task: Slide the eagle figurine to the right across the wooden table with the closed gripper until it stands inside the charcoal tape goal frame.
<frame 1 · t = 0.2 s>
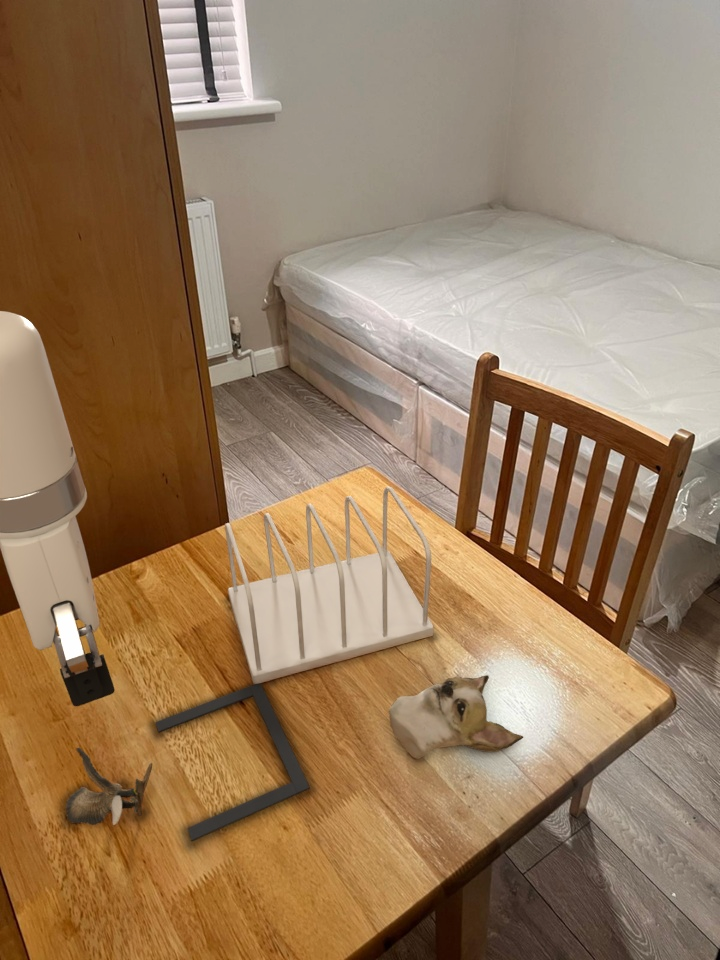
hand: (84, 655, 61), 28 cm above the table, tool pointing down, fingers open, 9 cm apart
file sorter: (327, 617, 103), on the table, touching goal frame
ceramic sculpture: (447, 734, 87), on the table
eagle figurine: (110, 805, 81), on the table
goal frame: (223, 757, 85), on the table
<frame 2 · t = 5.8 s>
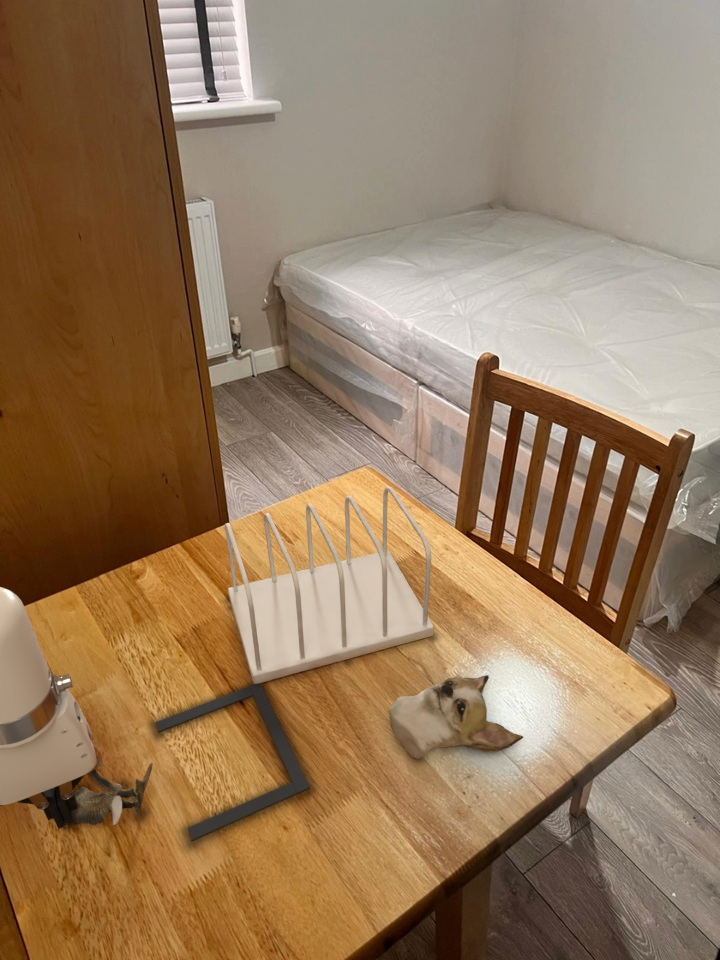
hand: (64, 814, 78), 1 cm above the table, tool pointing down, fingers closed
eagle figurine: (110, 805, 81), on the table, touching gripper
everything else where it was.
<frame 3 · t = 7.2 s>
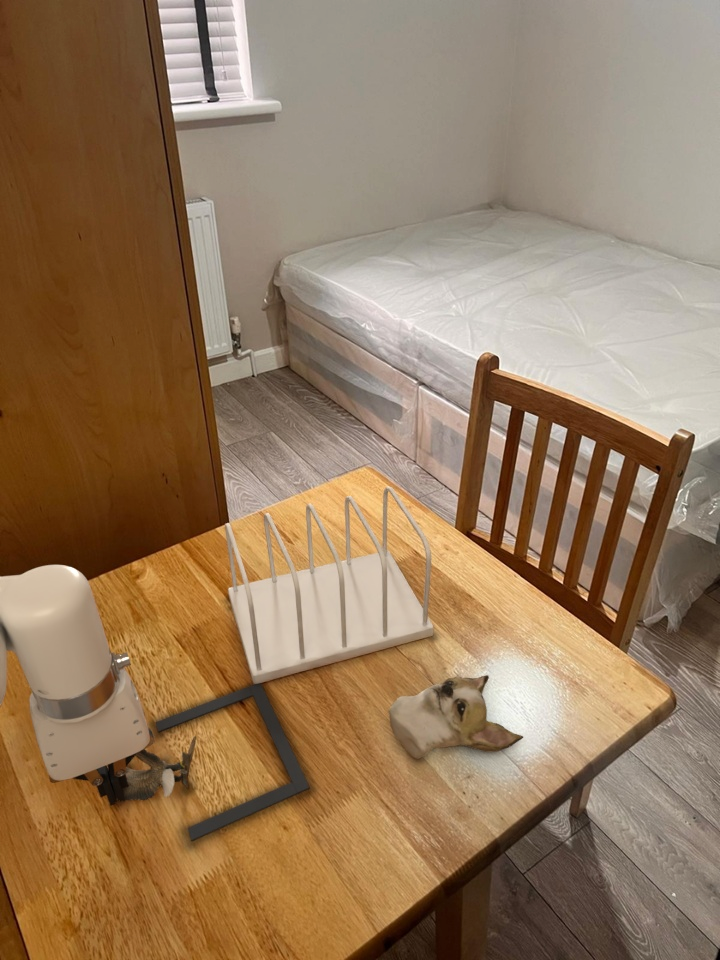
hand: (115, 791, 80), 2 cm above the table, tool pointing down, fingers closed
eagle figurine: (155, 781, 83), on the table, touching gripper
everything else where it was.
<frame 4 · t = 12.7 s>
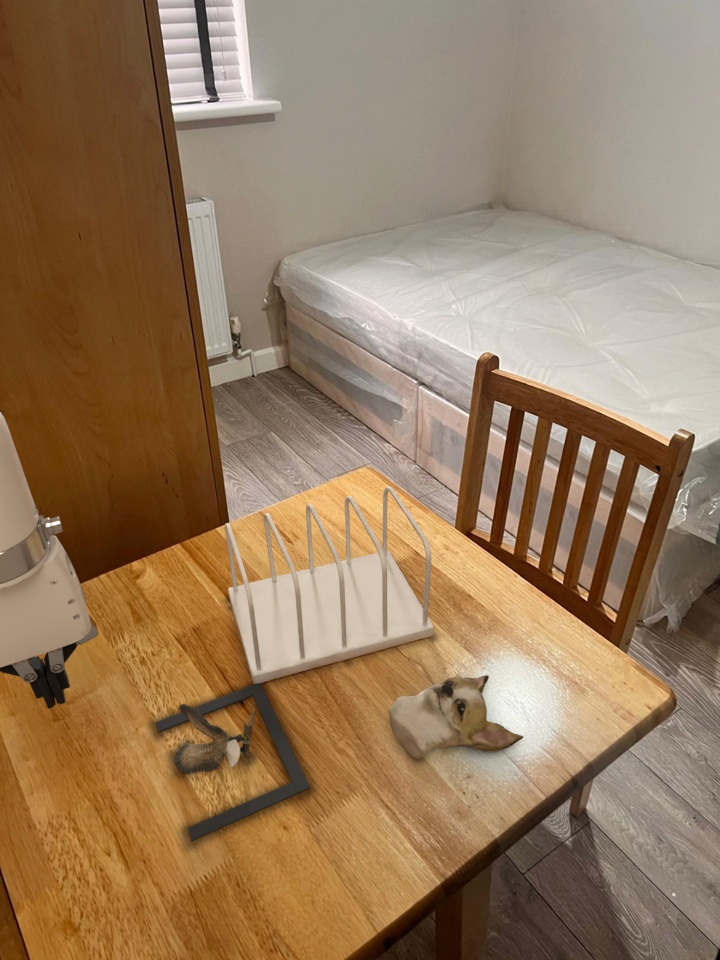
hand: (55, 694, 69), 19 cm above the table, tool pointing down, fingers closed
eagle figurine: (216, 754, 86), on the table
everything else where it was.
at the end: eagle figurine inside the target area (1.0 cm from its centre), on the table; eagle figurine tilted 0°; eagle figurine moved 12.4 cm from its start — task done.
